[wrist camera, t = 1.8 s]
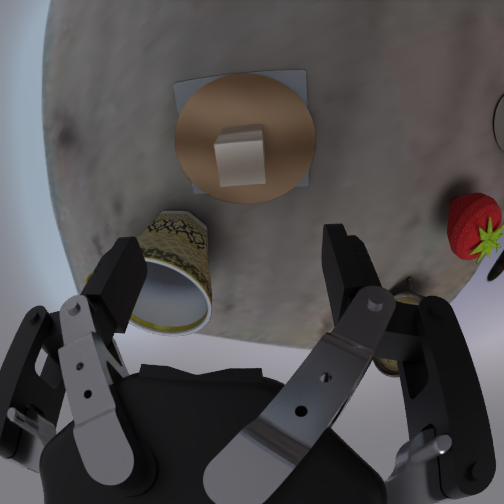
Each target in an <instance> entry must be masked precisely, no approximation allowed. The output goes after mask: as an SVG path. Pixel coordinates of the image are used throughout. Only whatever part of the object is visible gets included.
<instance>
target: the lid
mask: <svg viewBox="0 0 504 504" xmlns="http://www.w3.org/2000/svg"><path fill="white" fill-rule="evenodd" d="M175 148H176V153H177V157H178V160H179V162H180V164H181V167H182V168H183V170H184V172H185V173H186V175H187V176H188V177H189V179H190V180H191V181H192V182H193V183H194V184H195V185H196V186H197V187H198V188H200V189H201V190H202V191H204V192H205V193H207V194H209V195H210V196H212V197H215V198H217V199H219V200H222V201H225V202H230V203H234V204H257V203H263V202H267V201H270V200H273V199H276V198H278V197H280V196H282V195H284V194H285V193H287V192H288V191H290V190H291V189H292V188H293V187H295V186H296V185H297V184H298V183H299V182H300V180H301V179H302V178H303V177H304V175H305V174H306V173H307V171H308V169H309V167H310V165H311V163H312V160H313V157H314V153H315V148H316V132H315V127H314V123H313V120H312V117H311V115H310V113H309V111H308V109H307V107H306V105H305V104H304V103H303V102H302V100H301V99H300V98H299V97H298V96H297V95H296V94H295V93H294V92H293V91H292V90H291V89H290V88H288V87H287V86H286V85H284V84H282V83H281V82H279V81H277V80H275V79H272V78H270V77H267V76H263V75H259V74H250V73H240V74H232V75H227V76H224V77H221V78H218V79H216V80H214V81H212V82H210V83H208V84H206V85H205V86H203V87H202V88H200V89H199V90H198V91H197V92H196V93H194V94H193V95H192V97H191V98H190V99H189V100H188V101H187V103H186V104H185V106H184V107H183V109H182V111H181V113H180V115H179V117H178V121H177V124H176V129H175Z"/></svg>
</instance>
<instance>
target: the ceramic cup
mask: <svg viewBox="0 0 504 504" xmlns="http://www.w3.org/2000/svg"><path fill="white" fill-rule="evenodd" d="M137 240H138V243H139V245H140V248H141V251H142V253H143V256H144V258H145V261H146V263H147V270H148V271H147V277H146V280H145V282H144V284H143V287H142V289H141V292H140V294H139V297H138V299H137V302H136V304H135V307H134V310H133V312H132V315H131V318H130V320H129V323H130V324H132V325H133V326H135V327H137V328H139V329H142V330H144V331H147V332H150V333H153V334H158V335H163V336H184V335H188V334H192V333H195V332H197V331H199V330H200V329H202V328H203V327H204V326H205V325H206V324H207V323H208V321H209V320H210V318H211V314H212V289H211V278H210V272H209V267H208V236H207V227H206V225H205V224H203V223H202V222H201V221H200V220H198V219H197V218H196V217H195V216H194V215H192V214H191V213H190V212H189V211H162V212H161V213H160V214H159V215H158V216H157V217H156V218H155V219H154V220H153V222H152V223H151V224H150V225H149V226H148V227H147V228H146V229H145V230H144V231H143V232H142V234H141V235H140V236H138V237H137ZM92 273H94V272H92ZM92 273H91V274H90V275H89V276H88V278H87V280H86V284H87V282H88V280H89V278H90V276H91V275H92Z"/></svg>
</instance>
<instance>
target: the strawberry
mask: <svg viewBox="0 0 504 504" xmlns="http://www.w3.org/2000/svg"><path fill="white" fill-rule="evenodd" d="M501 222H502V213H501V209H500V207H499V206H498V204H497V202H496V201H495V200H494V199H493V198H491V197H489V196H487V195H484V194H482V193H471V194H465V195H462V196H460V197H455V198H453V199H452V200H451V203H450V210H449V215H448V225H447V235H448V239H449V243H450V246H451V250H452V251H453V253H454V254H456V255H457V256H458V257H459V258H460V259H462V260H471V259H475V258H477V257H478V259H477V261H476V263H477V262H478V261H479V260H480V259H481V258H482V257H483V255H484V254H485V253H486V254H487V256H488V257H489V256H490V253H491V249H492V248H496V249H497V248H500V247H501V246H500V245H499V244H498V242H497V241H496V240H497V239H499V238H500V237H501V236H502V235H503V233H501V231H502V229H503V228H504V224H503V225H502V226H501ZM500 233H501V234H500ZM496 253H497V251H496Z"/></svg>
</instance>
